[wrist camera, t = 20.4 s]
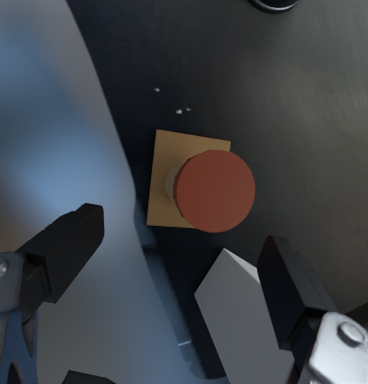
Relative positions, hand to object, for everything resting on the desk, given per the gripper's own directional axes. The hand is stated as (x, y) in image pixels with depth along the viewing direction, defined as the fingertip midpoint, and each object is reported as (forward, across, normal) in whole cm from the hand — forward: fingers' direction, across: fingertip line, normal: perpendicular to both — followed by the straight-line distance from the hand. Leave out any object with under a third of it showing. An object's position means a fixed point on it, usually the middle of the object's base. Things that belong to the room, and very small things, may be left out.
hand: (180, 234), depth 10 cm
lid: (+5, -2, 0) cm, 6 cm away
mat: (+14, 0, +3) cm, 15 cm away
